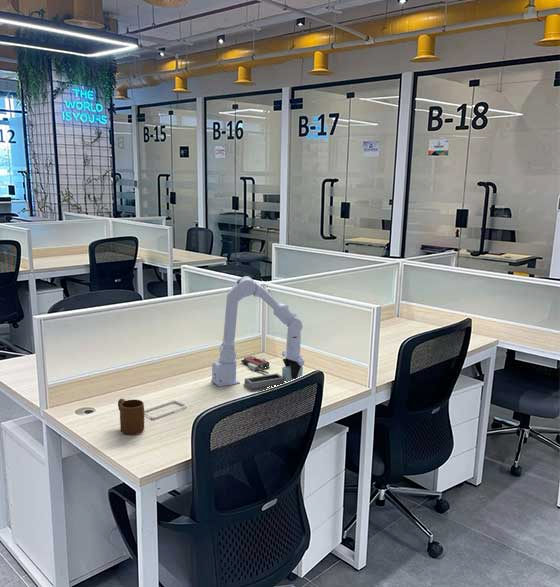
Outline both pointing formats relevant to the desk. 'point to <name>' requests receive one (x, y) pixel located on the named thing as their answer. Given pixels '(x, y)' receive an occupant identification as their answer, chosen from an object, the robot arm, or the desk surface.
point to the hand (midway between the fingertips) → (292, 376)
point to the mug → (131, 416)
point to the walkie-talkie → (256, 363)
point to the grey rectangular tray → (263, 382)
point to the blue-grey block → (289, 373)
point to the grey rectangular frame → (165, 405)
